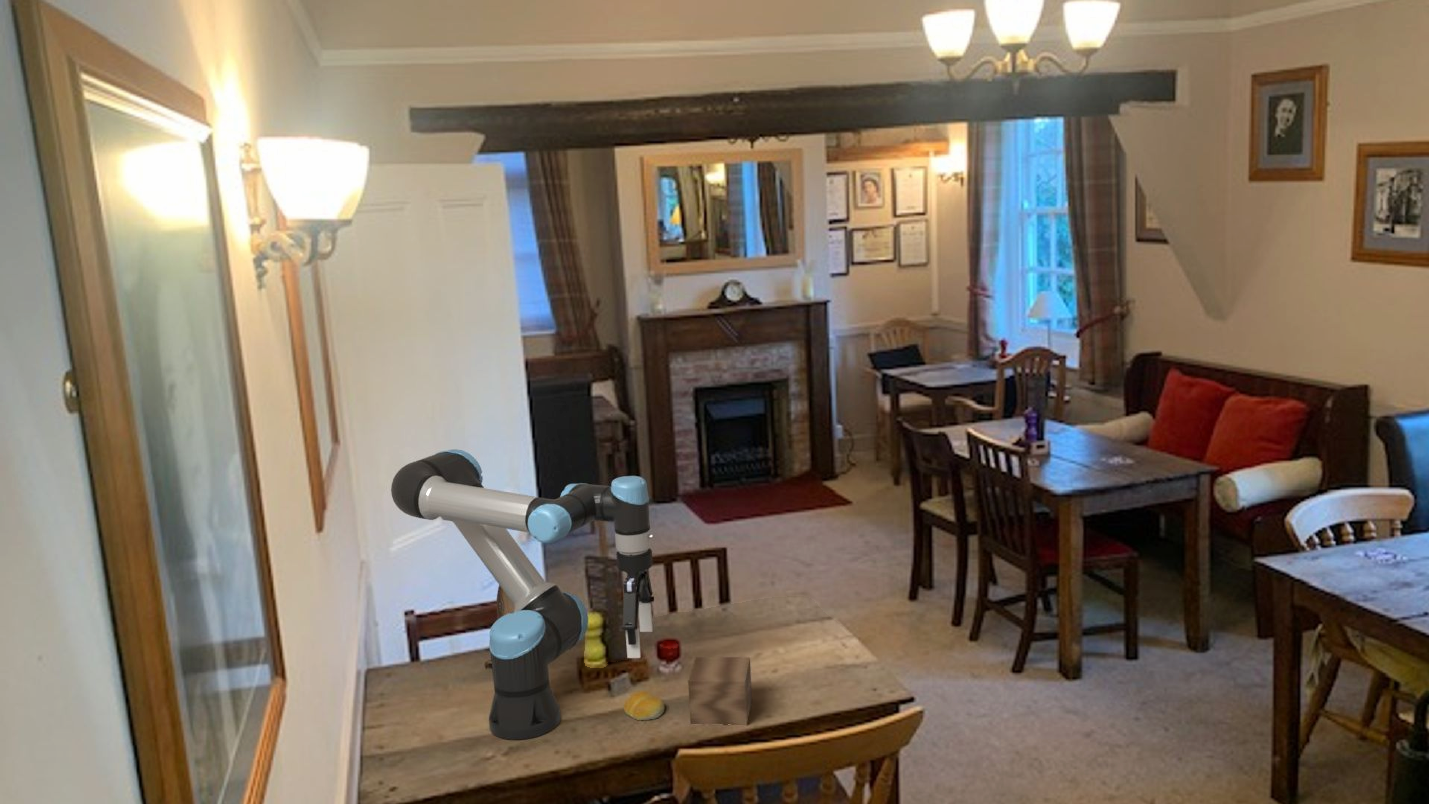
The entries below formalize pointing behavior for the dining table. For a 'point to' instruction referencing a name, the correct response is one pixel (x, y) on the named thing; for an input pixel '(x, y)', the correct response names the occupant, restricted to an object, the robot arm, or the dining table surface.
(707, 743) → the dining table surface
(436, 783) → the dining table surface
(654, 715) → the bread roll
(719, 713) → the walnut block
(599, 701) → the dining table surface
